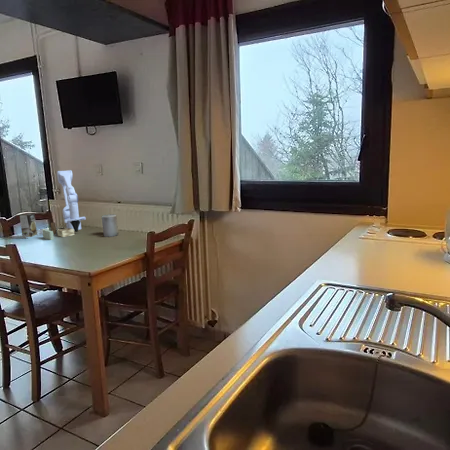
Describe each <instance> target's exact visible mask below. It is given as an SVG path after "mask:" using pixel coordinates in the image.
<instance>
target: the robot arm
mask: <svg viewBox="0 0 450 450" xmlns="http://www.w3.org/2000/svg"><path fill="white" fill-rule="evenodd" d="M56 178H57V182H58V184H60V185H61V188H62V193H63V198H64V204H65V206H64V207H63V208H62V217H63V219H64V220H63V223H64V224H65V226H66V228H71V229H74V233H75V232H76V233H77V232H78V231H79V230H82V222H81V221H86V219H87V218H86V216H80V214H79V213H80V212H79V211H80V210H79V204H78V203H79V196H78V194H77V192H76V191H75V190H76V189H75V187H74V186H73V185H72V182H73V171H72V170H71V169H68V170H57V171H56Z"/></svg>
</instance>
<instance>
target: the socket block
mask: <svg viewBox="0 0 450 450" xmlns="http://www.w3.org/2000/svg"><path fill="white" fill-rule="evenodd" d="M56 232H57V236H58V237H62V238H66V237H71V236H75V231H74V229H71V228H67V227H66V228H60V229H59V228H58V229H56Z"/></svg>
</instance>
